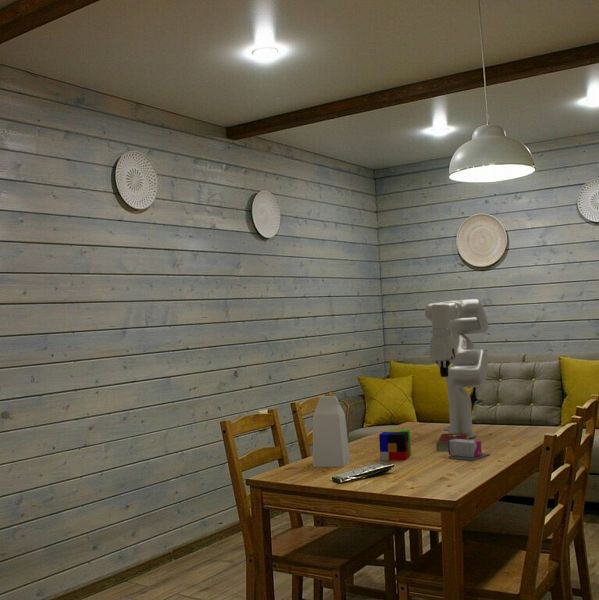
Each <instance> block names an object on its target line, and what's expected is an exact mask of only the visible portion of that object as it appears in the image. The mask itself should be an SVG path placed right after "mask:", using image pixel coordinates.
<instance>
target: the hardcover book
mask: <svg viewBox="0 0 599 600" xmlns="http://www.w3.org/2000/svg"><path fill="white" fill-rule="evenodd" d="M456 438H457V439H466V440H470V438H469V433H452V434H449V433H441V435H440V437H439V438H438V441H437V443H436V450H437V452H439V451H441V452H443V451H447V452H449V448H448V440H451V439H456Z"/></svg>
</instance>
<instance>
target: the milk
mask: <svg viewBox="0 0 599 600" xmlns="http://www.w3.org/2000/svg"><path fill="white" fill-rule="evenodd" d="M315 407H316V408H315V410H314V413H313V415H312V467H313V468H316V467H317V468H318V467H319V468H320V467H324V468H325V467H329V468H332V467H333V468H335V467H336V468H337V467H339V468H342V467H343V468H344V467H346V465H347V464H348V463H349V462H350V461H351V458H350V449H349V441H348V438H349V437H348V431H347V430H348V429H347V423H346V414H345V411H344V409H343V408H342V406H341V404H340V402H339V400H338V398H337V396H336V395H323V396H319V399H318V402H317V405H316V406H315Z"/></svg>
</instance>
